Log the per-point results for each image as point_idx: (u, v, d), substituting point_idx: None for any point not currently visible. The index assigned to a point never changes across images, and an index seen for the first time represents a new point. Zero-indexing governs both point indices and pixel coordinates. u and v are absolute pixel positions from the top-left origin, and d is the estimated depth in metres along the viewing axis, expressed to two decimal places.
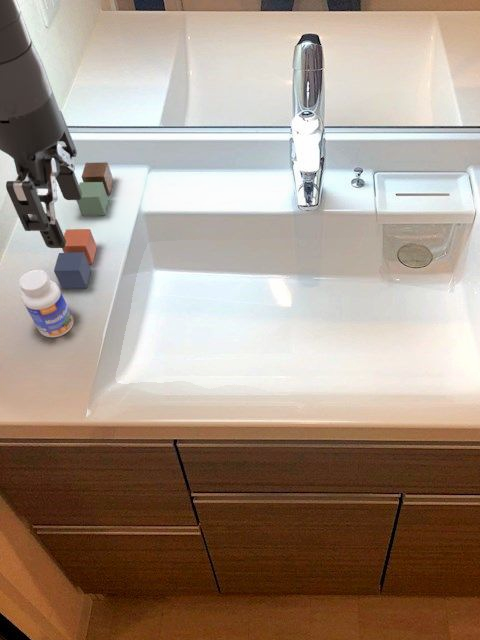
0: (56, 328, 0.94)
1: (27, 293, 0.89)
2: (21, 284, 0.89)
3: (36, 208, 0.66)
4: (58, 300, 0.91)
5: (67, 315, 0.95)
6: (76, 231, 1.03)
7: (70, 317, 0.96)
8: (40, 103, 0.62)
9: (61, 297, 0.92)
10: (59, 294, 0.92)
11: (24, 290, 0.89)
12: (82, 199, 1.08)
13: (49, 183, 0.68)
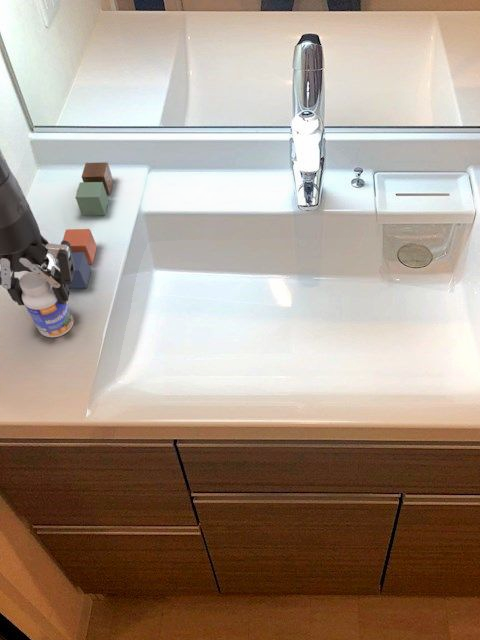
0: (56, 328, 0.94)
1: (27, 293, 0.89)
2: (21, 284, 0.89)
3: None
4: None
5: (67, 315, 0.95)
6: (76, 231, 1.03)
7: (70, 317, 0.96)
8: None
9: None
10: None
11: (24, 290, 0.89)
12: (82, 199, 1.08)
13: None
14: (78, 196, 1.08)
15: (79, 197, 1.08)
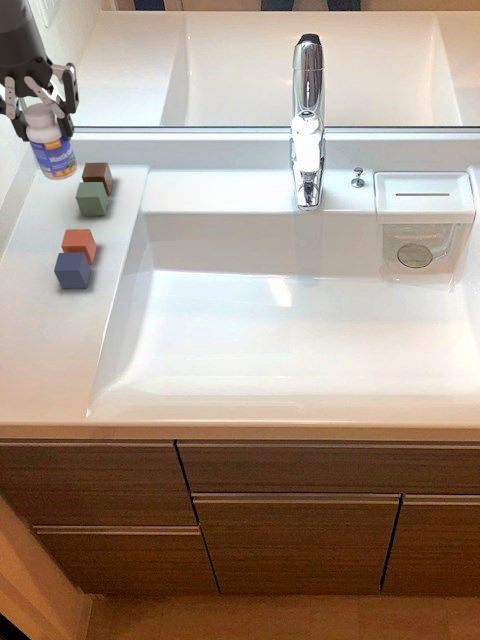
0: (61, 168, 0.94)
1: (31, 123, 0.88)
2: (25, 114, 0.88)
3: None
4: (62, 136, 0.91)
5: (72, 156, 0.94)
6: (76, 231, 1.03)
7: (74, 160, 0.95)
8: None
9: None
10: None
11: (28, 120, 0.88)
12: (82, 199, 1.08)
13: None
14: (78, 196, 1.08)
15: (79, 197, 1.08)
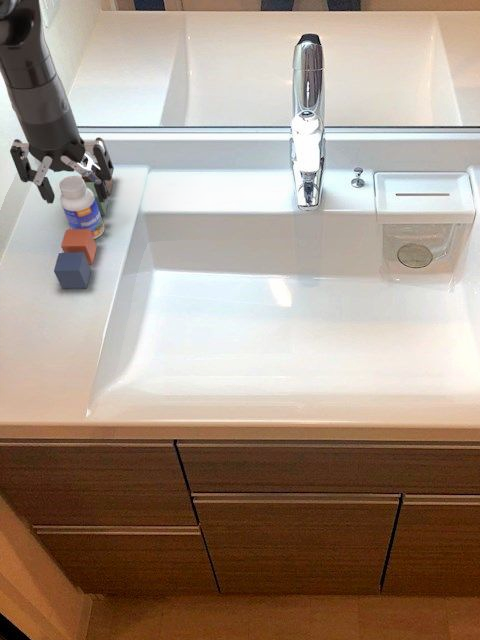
0: None
1: (66, 195, 1.01)
2: (61, 187, 1.00)
3: (15, 164, 0.96)
4: (92, 204, 1.03)
5: (100, 219, 1.06)
6: (76, 231, 1.03)
7: (102, 223, 1.07)
8: (24, 120, 0.88)
9: (95, 202, 1.04)
10: (93, 198, 1.03)
11: (63, 192, 1.00)
12: None
13: (40, 164, 0.96)
14: None
15: None
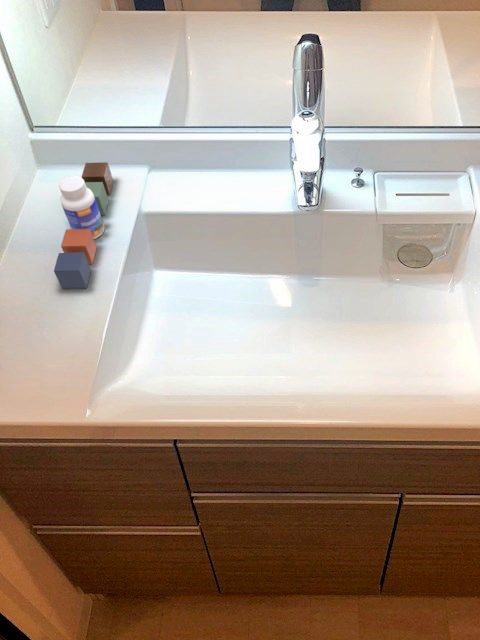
0: None
1: (66, 195, 1.01)
2: (61, 187, 1.00)
3: None
4: (92, 204, 1.03)
5: (100, 219, 1.06)
6: (76, 231, 1.03)
7: (102, 223, 1.07)
8: None
9: (95, 202, 1.04)
10: (93, 198, 1.03)
11: (63, 192, 1.00)
12: None
13: None
14: None
15: None
